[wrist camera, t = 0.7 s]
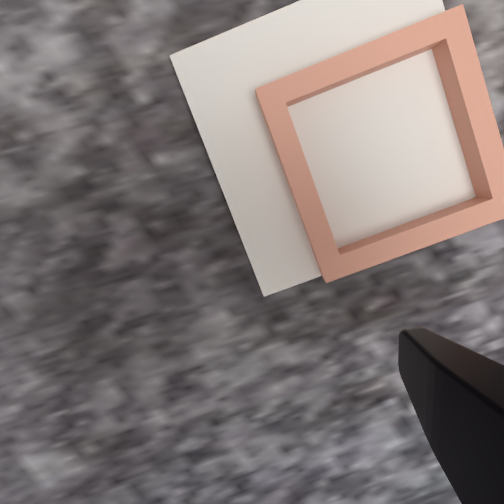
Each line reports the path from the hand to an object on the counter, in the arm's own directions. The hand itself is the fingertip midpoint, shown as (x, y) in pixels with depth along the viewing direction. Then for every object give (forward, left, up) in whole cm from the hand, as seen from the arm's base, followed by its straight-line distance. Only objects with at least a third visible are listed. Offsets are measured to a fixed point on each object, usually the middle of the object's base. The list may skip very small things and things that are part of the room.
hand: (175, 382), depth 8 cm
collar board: (+4, -7, -14) cm, 16 cm away
